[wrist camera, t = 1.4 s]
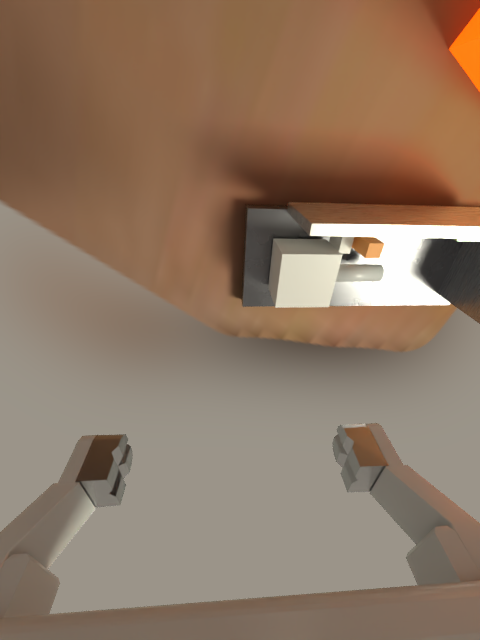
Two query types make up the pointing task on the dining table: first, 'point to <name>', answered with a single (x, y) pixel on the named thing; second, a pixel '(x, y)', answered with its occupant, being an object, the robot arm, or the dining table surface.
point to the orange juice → (469, 49)
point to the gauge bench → (396, 258)
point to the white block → (314, 270)
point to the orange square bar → (368, 246)
